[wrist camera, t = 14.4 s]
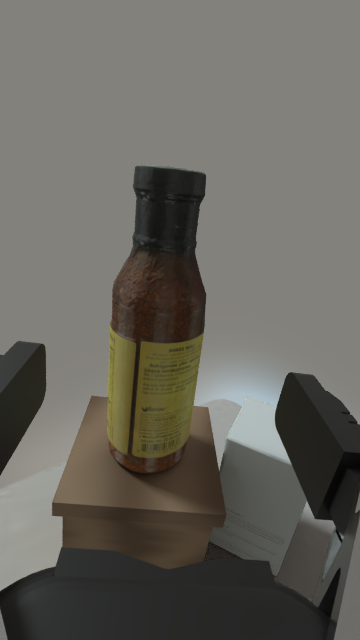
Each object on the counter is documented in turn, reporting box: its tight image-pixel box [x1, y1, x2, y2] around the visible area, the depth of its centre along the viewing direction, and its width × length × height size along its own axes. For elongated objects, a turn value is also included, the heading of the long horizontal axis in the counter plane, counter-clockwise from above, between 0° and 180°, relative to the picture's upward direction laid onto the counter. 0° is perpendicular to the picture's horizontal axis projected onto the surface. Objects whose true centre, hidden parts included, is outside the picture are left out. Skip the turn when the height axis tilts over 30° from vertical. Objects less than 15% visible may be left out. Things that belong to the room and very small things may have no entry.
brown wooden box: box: [52, 396, 226, 569], centre depth 28 cm, size 11×11×12 cm
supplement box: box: [209, 397, 307, 576], centre depth 31 cm, size 7×7×13 cm
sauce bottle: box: [107, 165, 206, 474], centre depth 22 cm, size 6×6×20 cm
